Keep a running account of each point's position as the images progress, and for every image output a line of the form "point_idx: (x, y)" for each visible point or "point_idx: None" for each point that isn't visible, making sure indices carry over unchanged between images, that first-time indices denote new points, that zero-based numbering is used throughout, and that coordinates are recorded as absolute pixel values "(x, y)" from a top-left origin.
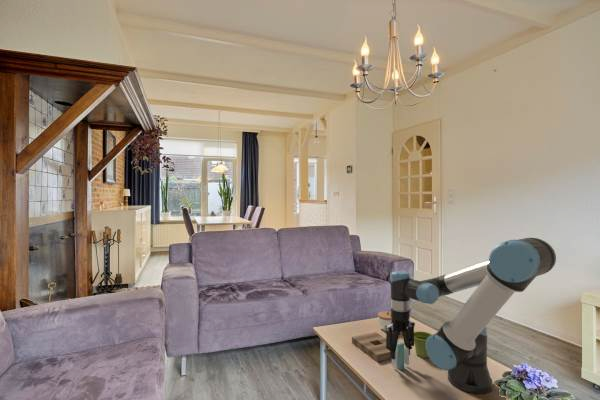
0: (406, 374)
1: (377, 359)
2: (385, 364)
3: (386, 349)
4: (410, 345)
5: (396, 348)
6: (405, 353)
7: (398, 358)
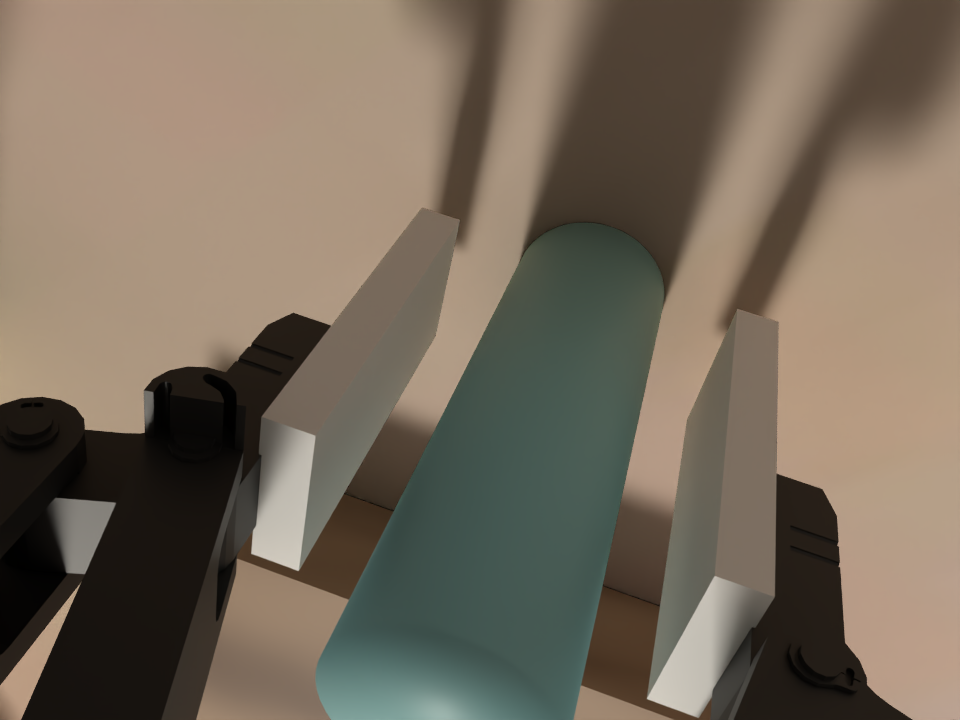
0: (734, 65)
1: None
2: None
3: None
4: (141, 465)
5: (236, 597)
6: (367, 407)
7: (635, 426)
